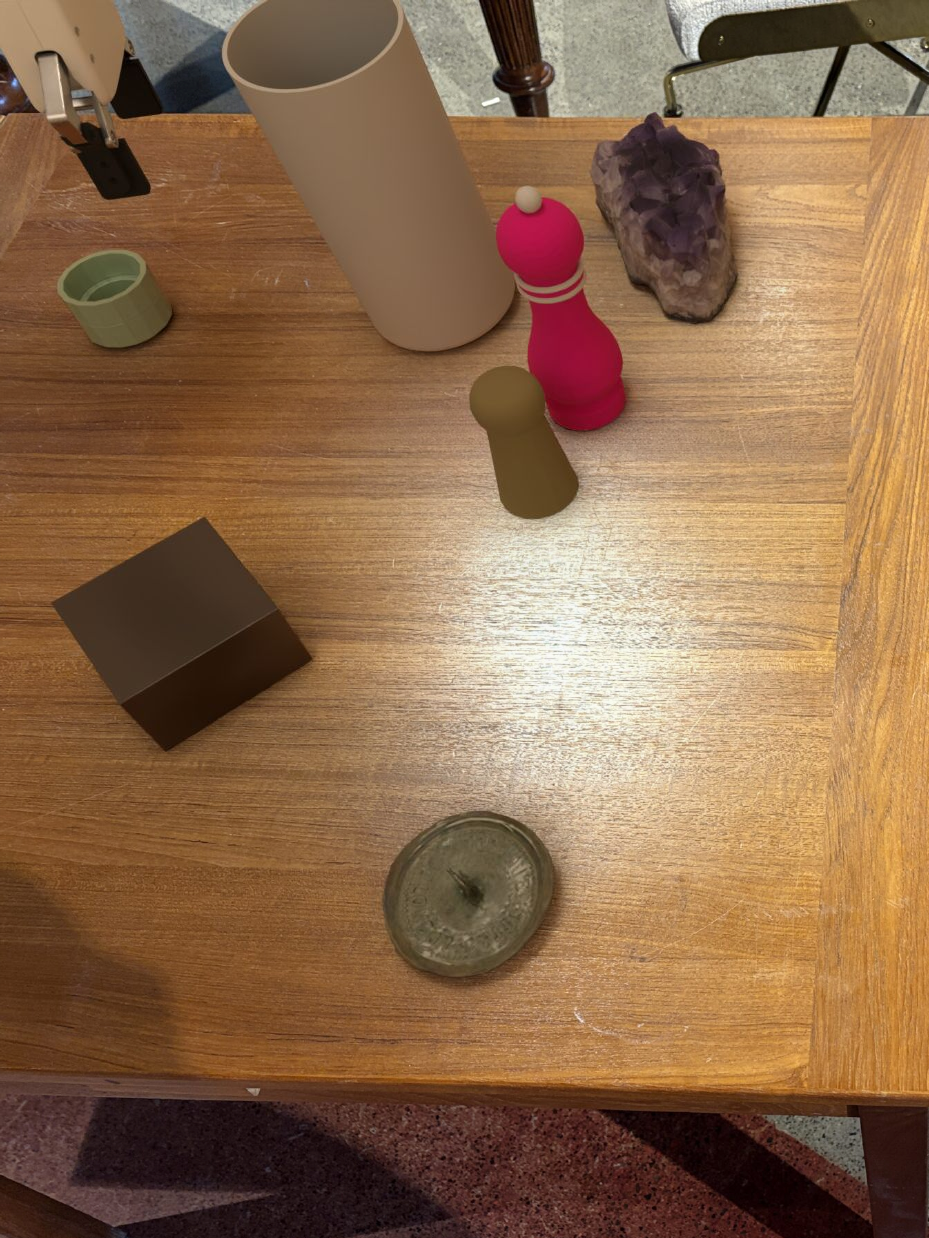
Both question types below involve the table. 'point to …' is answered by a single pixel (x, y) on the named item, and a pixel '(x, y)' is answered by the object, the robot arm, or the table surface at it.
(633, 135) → the geode
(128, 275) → the bowl
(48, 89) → the robot arm
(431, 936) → the lid
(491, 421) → the brown peg doll
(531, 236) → the pepper mill
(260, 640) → the stand
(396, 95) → the cylinder vase
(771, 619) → the table surface
